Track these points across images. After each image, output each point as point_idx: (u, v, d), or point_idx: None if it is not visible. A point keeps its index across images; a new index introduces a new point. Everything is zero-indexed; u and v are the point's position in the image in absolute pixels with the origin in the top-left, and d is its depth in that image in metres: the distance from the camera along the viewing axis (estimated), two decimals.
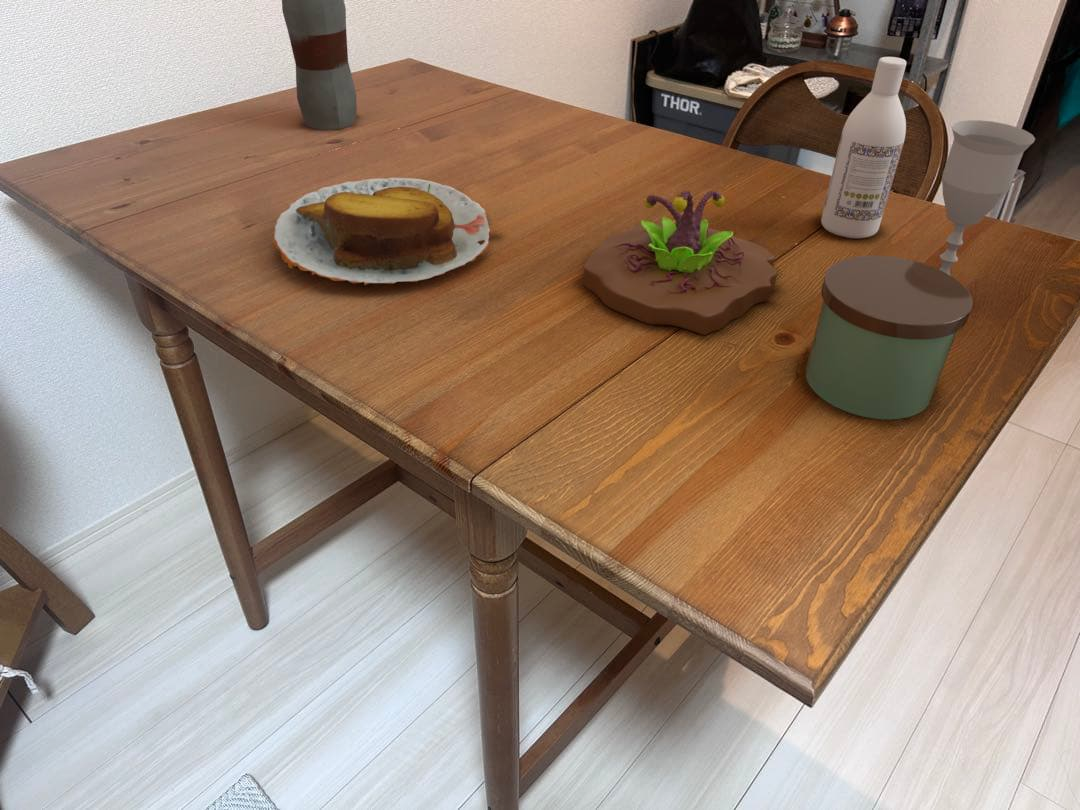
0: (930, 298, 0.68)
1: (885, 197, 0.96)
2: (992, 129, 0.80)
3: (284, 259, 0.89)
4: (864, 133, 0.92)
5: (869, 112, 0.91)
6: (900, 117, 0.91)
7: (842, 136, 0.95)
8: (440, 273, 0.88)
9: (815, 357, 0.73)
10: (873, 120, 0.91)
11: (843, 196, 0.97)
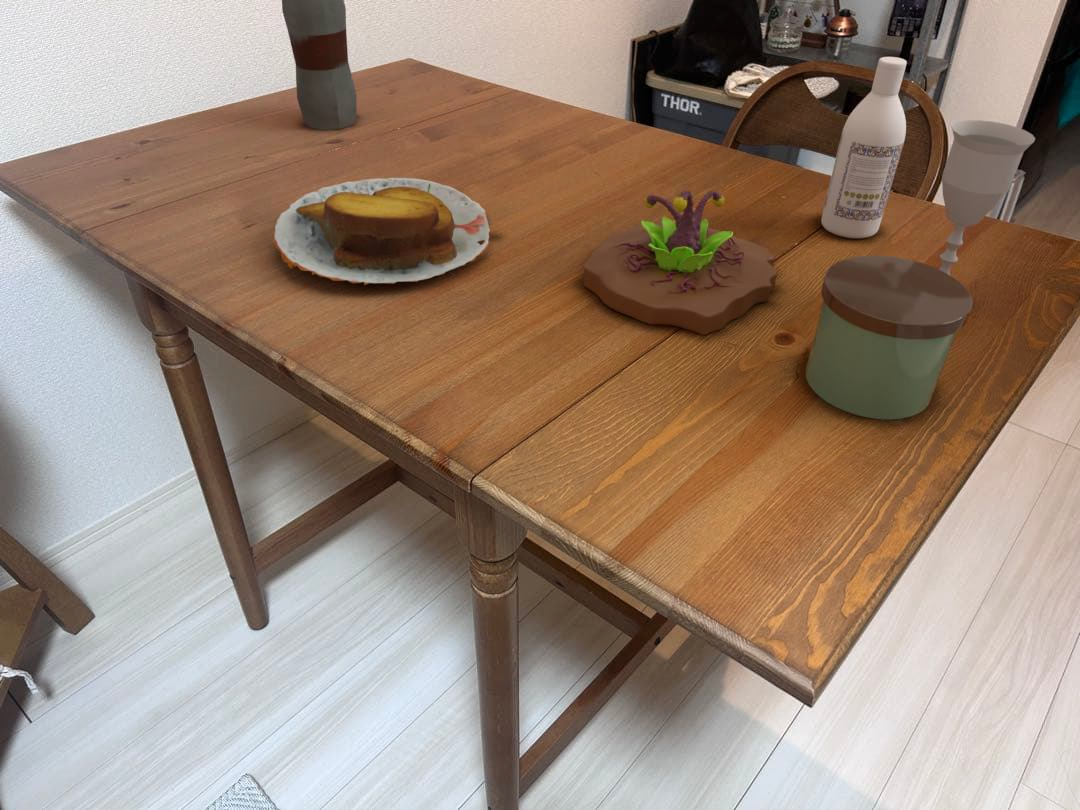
0: (930, 298, 0.68)
1: (885, 197, 0.96)
2: (992, 129, 0.80)
3: (284, 259, 0.89)
4: (864, 133, 0.92)
5: (869, 112, 0.91)
6: (900, 117, 0.91)
7: (842, 136, 0.95)
8: (440, 273, 0.88)
9: (815, 357, 0.73)
10: (873, 120, 0.91)
11: (843, 196, 0.97)
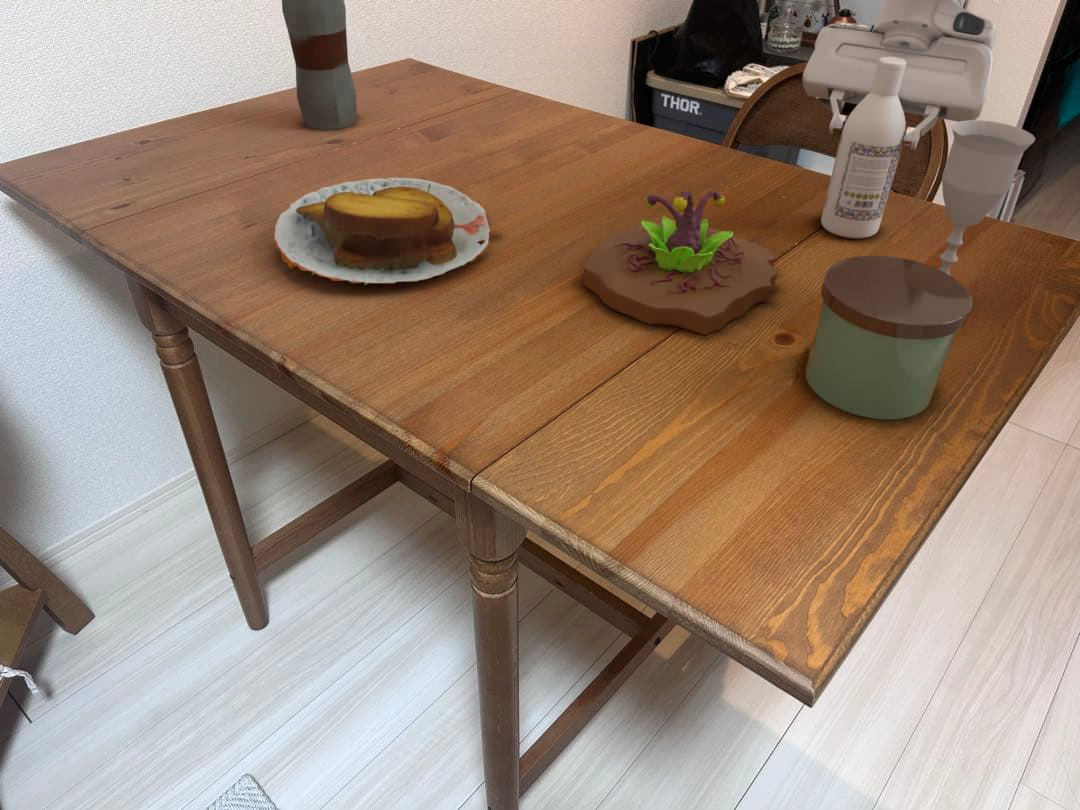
0: (930, 298, 0.68)
1: (885, 197, 0.96)
2: (992, 129, 0.80)
3: (284, 259, 0.89)
4: (864, 133, 0.92)
5: (869, 112, 0.91)
6: (900, 117, 0.91)
7: (842, 136, 0.95)
8: (440, 273, 0.88)
9: (815, 357, 0.73)
10: (873, 120, 0.91)
11: (843, 196, 0.97)
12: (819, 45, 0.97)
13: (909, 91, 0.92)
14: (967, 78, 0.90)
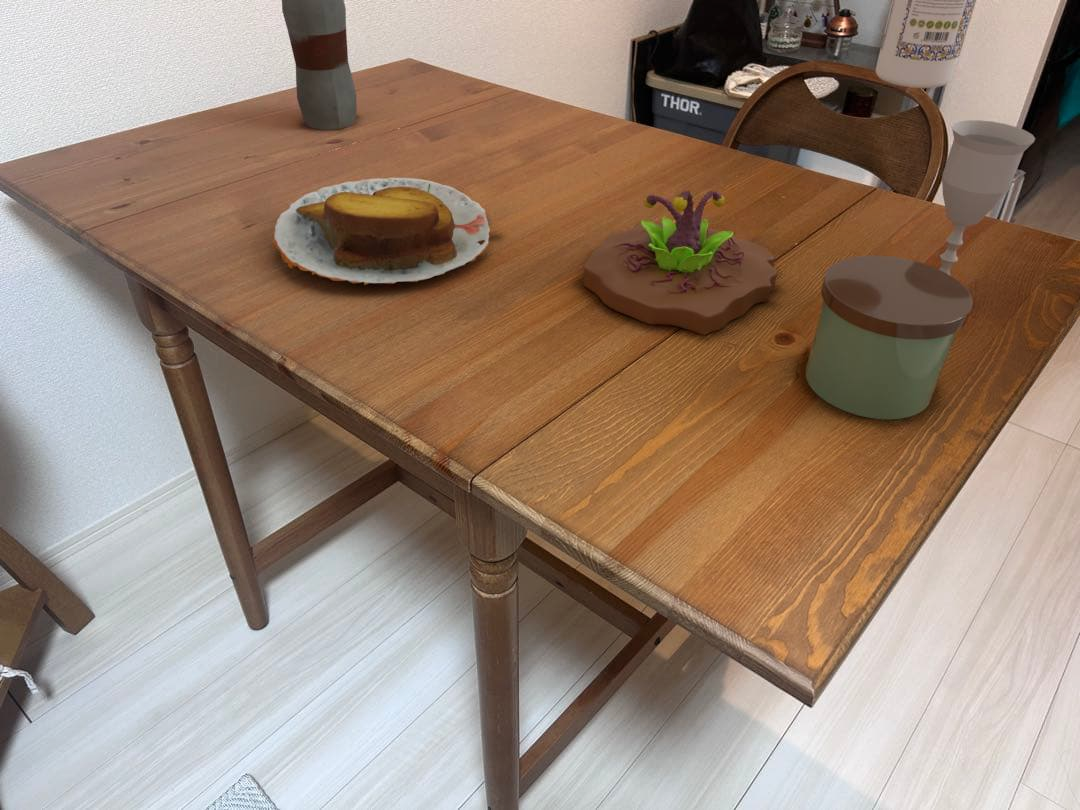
0: (930, 298, 0.68)
1: (964, 28, 0.73)
2: (992, 129, 0.80)
3: (284, 259, 0.89)
4: None
5: None
6: None
7: None
8: (440, 273, 0.88)
9: (815, 357, 0.73)
10: None
11: (909, 28, 0.73)
12: None
13: None
14: None
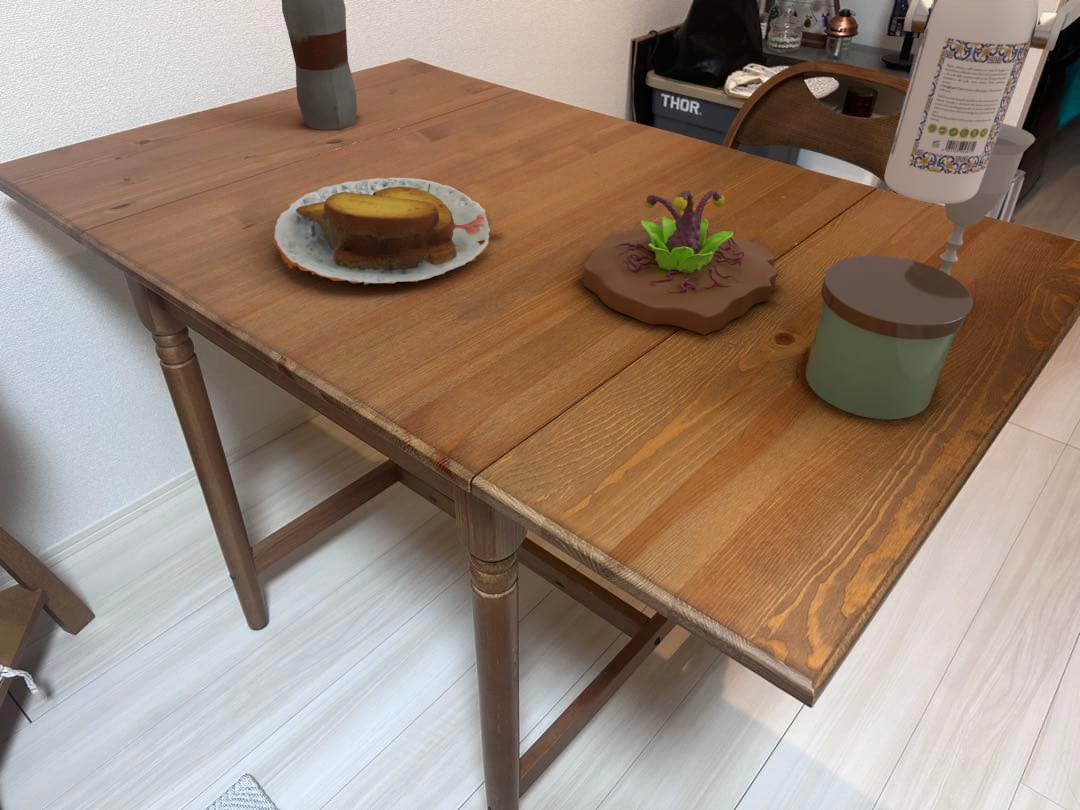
0: (930, 298, 0.68)
1: (995, 135, 0.59)
2: None
3: (284, 259, 0.89)
4: (969, 22, 0.54)
5: None
6: None
7: (927, 32, 0.57)
8: (440, 273, 0.88)
9: (815, 357, 0.73)
10: None
11: (927, 134, 0.59)
12: None
13: None
14: None
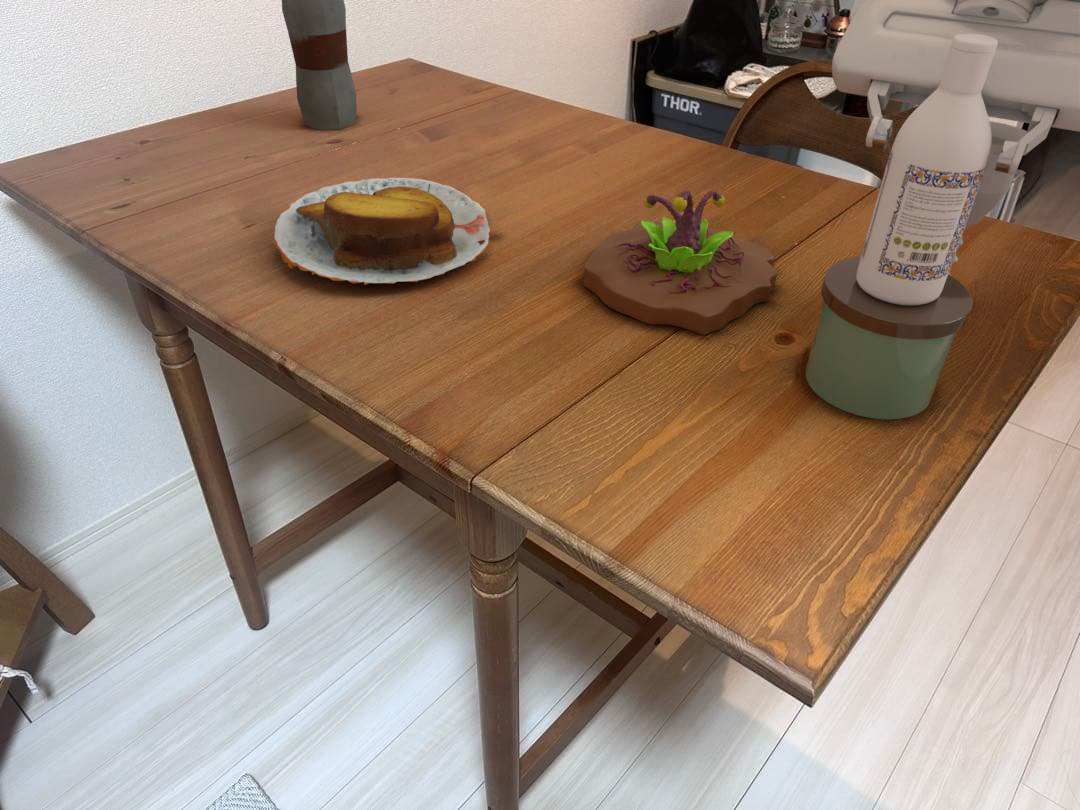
0: None
1: (955, 246, 0.64)
2: (992, 129, 0.80)
3: (284, 259, 0.89)
4: (928, 152, 0.60)
5: (936, 120, 0.59)
6: (985, 127, 0.59)
7: (892, 155, 0.63)
8: (440, 273, 0.88)
9: (815, 357, 0.73)
10: (943, 132, 0.59)
11: (893, 245, 0.64)
12: (857, 15, 0.65)
13: (998, 84, 0.60)
14: None
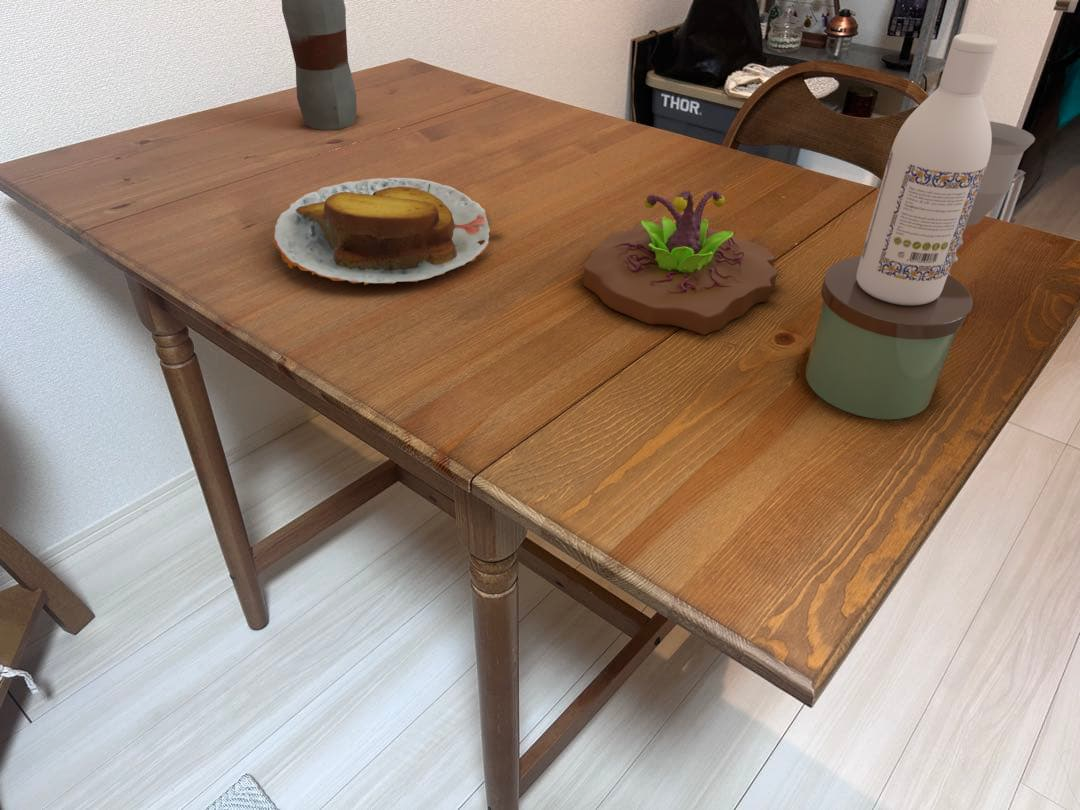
0: None
1: (955, 246, 0.64)
2: (992, 129, 0.80)
3: (284, 259, 0.89)
4: (928, 152, 0.60)
5: (936, 120, 0.59)
6: (985, 127, 0.59)
7: (892, 155, 0.63)
8: (440, 273, 0.88)
9: (815, 357, 0.73)
10: (943, 132, 0.59)
11: (893, 245, 0.64)
12: None
13: None
14: None
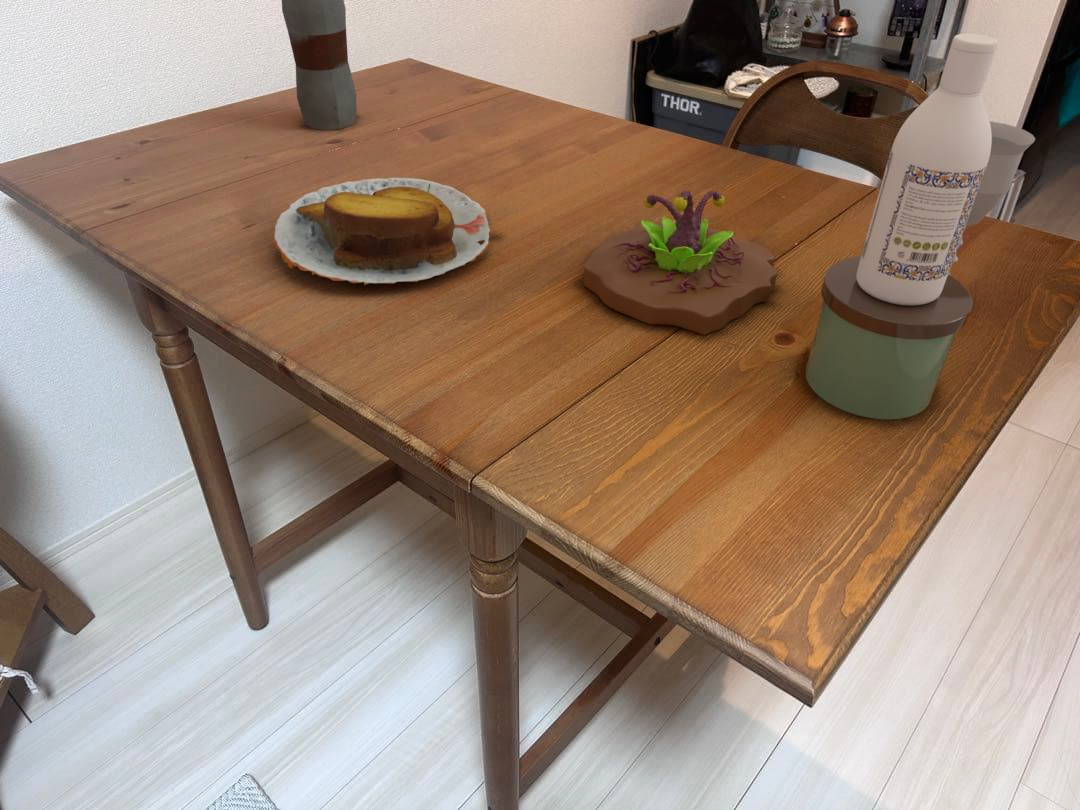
0: None
1: (955, 246, 0.64)
2: (992, 129, 0.80)
3: (284, 259, 0.89)
4: (928, 152, 0.60)
5: (936, 120, 0.59)
6: (985, 127, 0.59)
7: (892, 155, 0.63)
8: (440, 273, 0.88)
9: (815, 357, 0.73)
10: (943, 132, 0.59)
11: (893, 245, 0.64)
12: None
13: None
14: None
